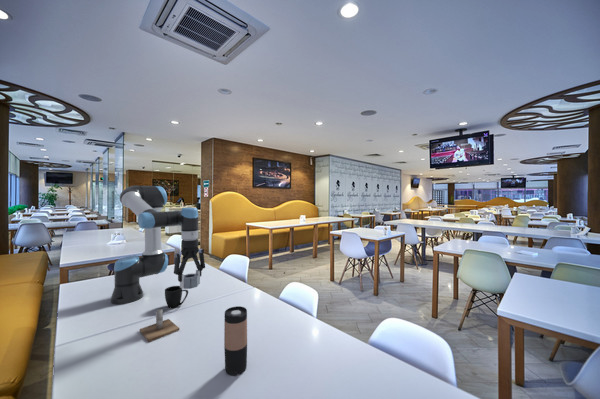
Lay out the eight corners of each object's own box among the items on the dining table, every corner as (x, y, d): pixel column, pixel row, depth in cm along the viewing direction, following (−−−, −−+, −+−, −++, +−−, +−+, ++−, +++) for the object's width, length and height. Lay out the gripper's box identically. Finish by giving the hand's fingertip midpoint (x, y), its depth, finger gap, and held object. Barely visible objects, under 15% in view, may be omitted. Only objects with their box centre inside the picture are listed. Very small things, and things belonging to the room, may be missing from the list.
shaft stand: (139, 331, 109) (139, 310, 109) (168, 320, 118) (168, 302, 118) (148, 342, 101) (148, 320, 101) (179, 330, 110) (179, 310, 110)
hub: (179, 286, 122) (179, 276, 122) (193, 282, 128) (193, 272, 128) (186, 290, 118) (186, 279, 118) (200, 285, 123) (200, 275, 123)
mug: (183, 310, 128) (182, 292, 128) (161, 309, 130) (161, 291, 130) (191, 303, 137) (191, 286, 136) (171, 302, 138) (171, 285, 138)
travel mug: (226, 361, 89) (226, 306, 89) (248, 360, 90) (248, 305, 90) (222, 377, 82) (221, 317, 81) (245, 375, 82) (245, 316, 82)
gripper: (171, 243, 112) (172, 293, 113) (212, 237, 127) (212, 281, 128) (164, 241, 117) (165, 289, 118) (205, 235, 132) (205, 278, 133)
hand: (190, 285), depth 123 cm, fingers closed on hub, 7 cm apart
